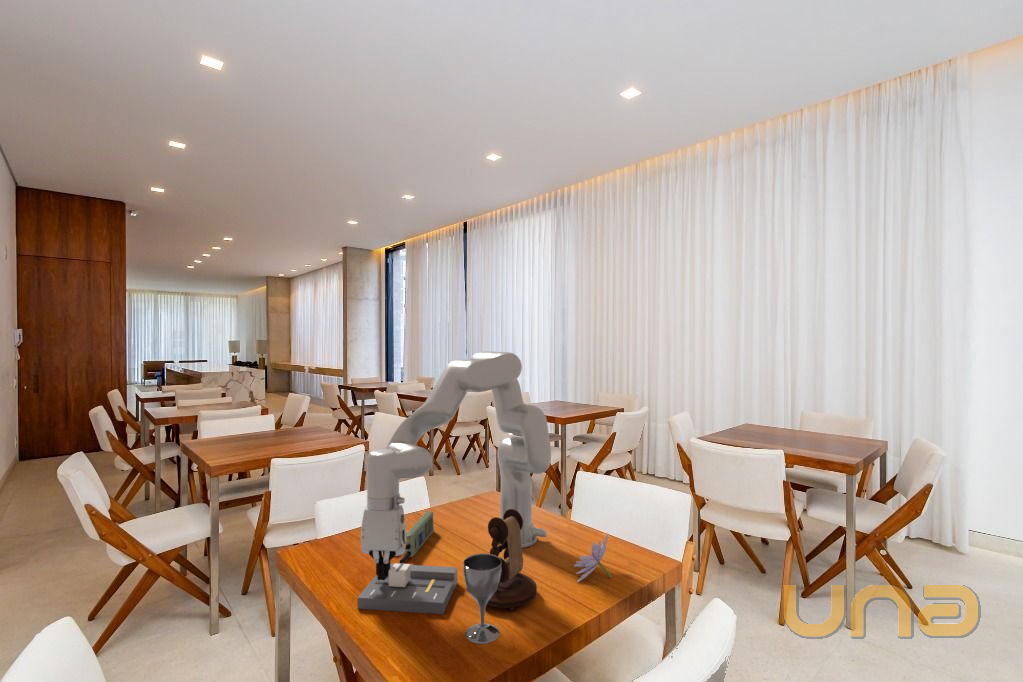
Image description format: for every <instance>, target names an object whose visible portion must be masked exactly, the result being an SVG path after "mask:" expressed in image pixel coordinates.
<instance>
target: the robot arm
mask: <svg viewBox="0 0 1023 682" xmlns="http://www.w3.org/2000/svg"><path fill="white" fill-rule="evenodd" d="M522 368H523V366H522V360H521V358H519V356H518V355H516V354H515V353H513V352H509V351H488V350H487V351H479V352H476V353H474V354H473V355H472V356H471V357H470V359H455V360H452V361H451V362H449V363H448V364H447V365H446V366H445V368H444V369H443V371H442V373H441V374H440V376H439V378H438V379H437V382H436V383H435V385H434V387H433V388H432V390H431V392H430V393H429V394H428V397H427V398H426V400H425V401H424V403H423V404H422V405H421V406H420V407H418V408H417V409H415V411H413V412H412V413H410V415H409V416H408V417H407V418H406V419H404V420H403V421H402V422H401V423H400V425H399V426H398V427H397V428H396V430H395V432H394V433H393V434H392V437H391V438H390V440H389V442H388V443H387V445H386V447H385V448H380V449H375V450H372V451H369V453H368V454H367V457H366V506H365V507H364V511H363V515H362V519H361V528H360V531H361V532H360V546H361V548H360V549H361V553H362V554H365V555H366V554H367V555H369V556H370V557H371V558H372V559H373V562H374V563H375V566H376V567H375V574H376V575H378V580H385V579H386V578H387V576H388V575H389V570H390V564H391V561H392V559H393V558H395V557H397V556H398V557H400V556H402V555H403V556H404V555H405V554H406V552H405V543H406V533H407V527H406V526H407V525H406V518H405V516H406V515H405V511H404V507H403V505H402V504H405V502H406V499H405V497H402V496H401V493H400V479H401V480H402V479H416V478H420V477H423V476H424V475H426V474H427V473H428V472H430V470H431V468H432V465H433V457H432V454H431V452H429V451H428V450H427V449H426V448H424V447H421V446H418V445H416V444H418V442H419V440H420V439H421V438H422V437H423V436H424V435H425V434H426V433H427V432H429V431H431V430H432V429H434V428H437V427H440V426H442V425H445V424H447V423H448V422H450V421H452V420H453V418H454V417H455V415H456V412H458V409H459V407H460V406H461V403H463V401H464V399H465V397H466V396H467V394H468V392H471V393H483V392H488V391H491V393H492V397H493V401H494V407H495V414H496V421H497V425H498V428H499V430H500V431H501V432H503V433H505V434H507V435H511V436H507V437H504V438H503V439H502V440H501V441H500V442H499V444H498V446H497V461H498V466H499V474H500V475H499V476H500V518H501V519H502V520H503V516H504V513H505V512H506V511H507V510H509V509H514V510H516V511H518V512H519V513H520V515H521V517H522V519H523V527H522V529H521V530H520V533H521V546H522V549H524V548H528V547H531V546H533V545H535V544H536V542H537V540H538V537H540V538H547V530H546V529H545V530H544V529H543V527H536V526H534V522H533V519H532V518H533V515H532V513H533V510H532V503H533V502H532V501H533V496H532V495H533V493H532V492H533V487H532V486H533V483H532V477H531V474H533V475H534V474H535V475H540V474H544V473H545V472H547V470H548V468H550V465H551V462H552V447H551V440H550V434H549V426H548V420H547V418H546V415H545V413H544V411H543V410H542V409H541V408H539V406H536V405H533V404H532V405H531V404H526V403H524V399H523V395H522V390H521V389H522V388H521V385H520V383H519V380H518V378H519V377H520V375H521V373H522ZM499 546H501V544H499ZM383 552H384V553H383ZM376 575H375V576H376Z"/></svg>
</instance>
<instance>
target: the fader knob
mask: <svg viewBox="0 0 1023 682" xmlns="http://www.w3.org/2000/svg"><path fill="white" fill-rule="evenodd" d="M393 564H394V565H393V566H392V567H391V569H390V570H389V586H395V587H405V586H406V585H407V583H408V582H409V580H410V565H411V564H410V563H401V564H400V563H399V562H398V563H395V562H393Z"/></svg>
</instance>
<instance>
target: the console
mask: <svg viewBox="0 0 1023 682" xmlns="http://www.w3.org/2000/svg"><path fill="white" fill-rule="evenodd" d="M393 565H394V563H390V569H391V567H392V566H393ZM457 585H458V567H455V566H441V565H440V566H437V565H433V566H432V565H420V564H410V580H409V582H408V583H407V585H406V586H405V587H395V586H389V575H388V576H387V578H386V579H385V580H378V575H375V576H374V577H373V578H372V579H371V580H370V582H369V583H368V584H367V585H366V587H365V588H364V589H363V590H362V592H361V593H360V594H359V595H358V597H357V609H359V610H371V611H372V610H373V611H374V610H375V611H376V610H377V611H391V612H402V613H404V612H405V613H417V614H419V613H420V614H432V615H433V614H435V615H444V613H445V611H446V609H447V607H448V606H449V605H448V604H449V602H450V600H451V597H452V596H453V593H454V591H455V589H456V587H457Z"/></svg>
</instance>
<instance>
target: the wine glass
mask: <svg viewBox="0 0 1023 682" xmlns="http://www.w3.org/2000/svg"><path fill="white" fill-rule="evenodd" d="M499 557H500V556H496V555H493V554H490V553H483V552H482V553H474V554H471V555H469V556H466V557H465V558H464V559H463V569H462V570H463V578H464V584H465V588H466V590H467V593H468V594H469V595H470V596H471V598H472V599H474V600H475V602H476V603H477V605H478V608H479V614H480V623H475V624H473V625H471V626H470V627H468V628H467V629H466V631H465V633H464V634H465V635H464V636H465V638H466V639H467V640H468V641H469V642H471V643H473V644H476V645H477V644H478V645H486V644H490V643H494V642H495V641H496V640H498V638H499V637H500V630H499V628H498V627H497V626H496V625H494V624H491V623H486V622H485V616H486V608H487V606H488V605H487V603H488V601H489V600H490V599H491V598H492V597H493V595H494V594H495V593H496V592H497V590H498V587H499V584H500V579H501V559H500V558H501V557H500V558H499Z"/></svg>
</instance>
